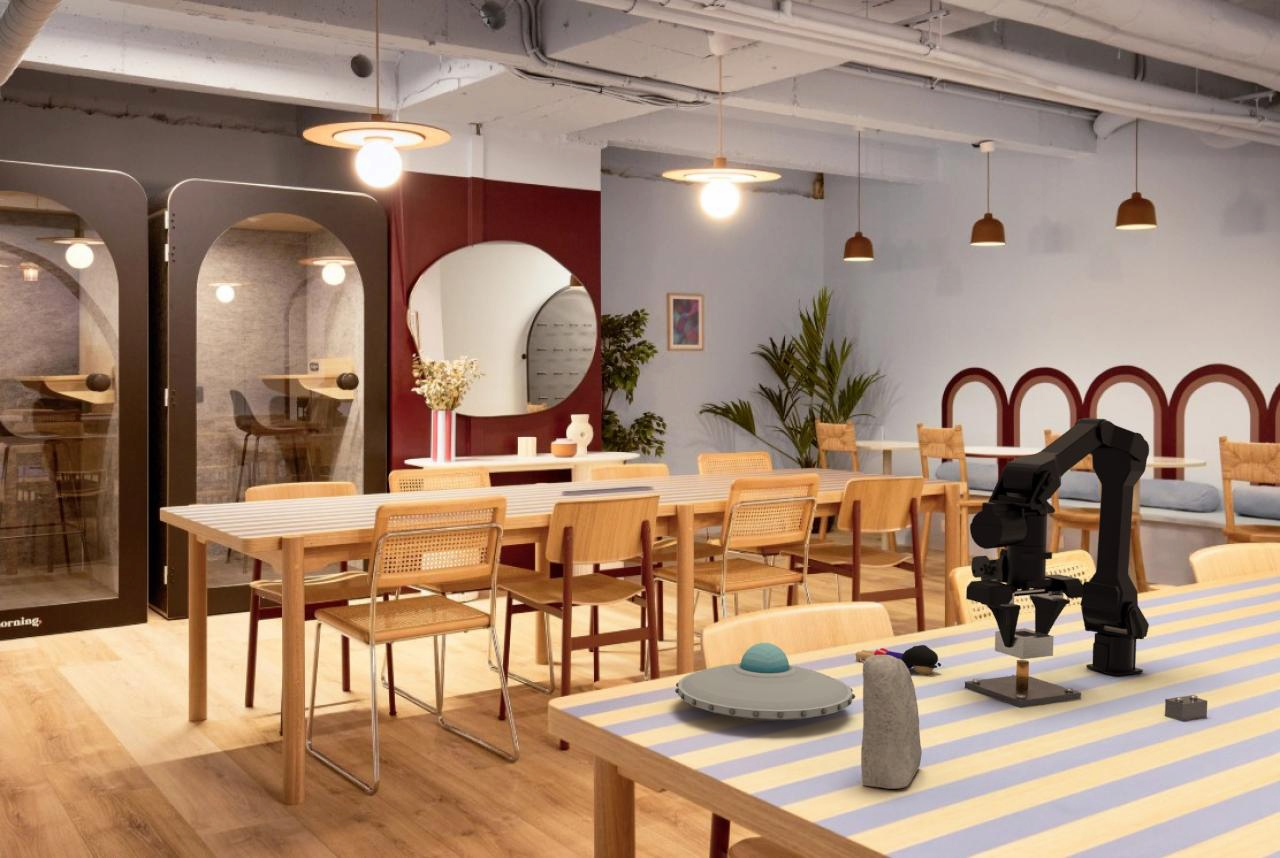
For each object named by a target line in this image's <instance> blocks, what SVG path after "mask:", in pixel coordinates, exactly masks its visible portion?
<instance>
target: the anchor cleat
mask: <svg viewBox="0 0 1280 858" xmlns="http://www.w3.org/2000/svg"><path fill="white" fill-rule="evenodd" d="M1164 702H1165V704H1164V716H1165V717H1168V718H1171V719H1175V720H1177V721H1181V722H1185V721H1192V720H1196V719H1197V720H1198V719H1205V718H1207V717H1208V700H1206V699H1202V698H1199V697H1198V695H1194V694H1189V695H1184V696H1176V697H1171V698H1165V701H1164Z"/></svg>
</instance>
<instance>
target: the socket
mask: <svg viewBox="0 0 1280 858" xmlns="http://www.w3.org/2000/svg"><path fill="white" fill-rule="evenodd" d="M994 633H995V634H994V652H998V653H1001V654H1004V655H1006V656H1007V655H1008V656H1010V657H1014V658H1017V659H1019V660H1028V659H1035V658H1036V659H1037V658H1046V657H1053V656H1054V636H1053V635H1050V634H1048V635H1047V634H1044V633H1040V632H1036V631H1035V630H1033V629H1032V630H1031V629H1028V628H1025V627H1024V628H1016V631H1015V636H1014V640H1013V643H1012V647H1011V648H1008V647H1005V646H1004V643H1003V640H1002V637H1001V634H1000V631H999V630H998V631H995V632H994Z"/></svg>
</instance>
